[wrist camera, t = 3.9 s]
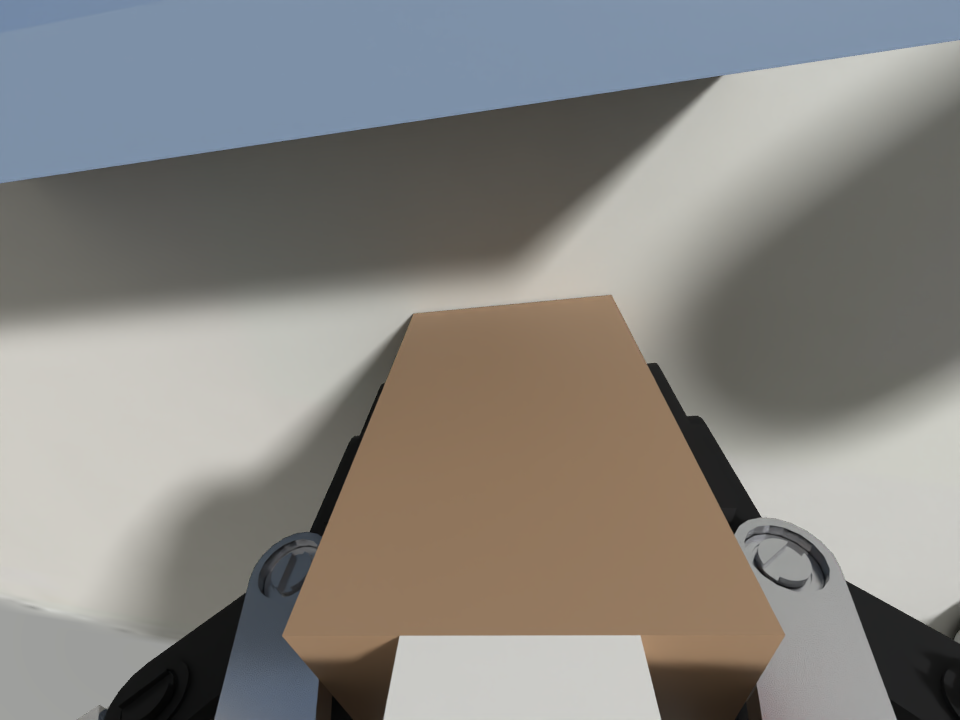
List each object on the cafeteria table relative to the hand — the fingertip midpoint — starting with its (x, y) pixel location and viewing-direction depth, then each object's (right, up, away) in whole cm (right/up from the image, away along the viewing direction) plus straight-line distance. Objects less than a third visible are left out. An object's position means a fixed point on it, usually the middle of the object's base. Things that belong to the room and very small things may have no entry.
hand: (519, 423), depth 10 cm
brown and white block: (0, +1, +1) cm, 2 cm away
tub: (-5, +15, -8) cm, 18 cm away
